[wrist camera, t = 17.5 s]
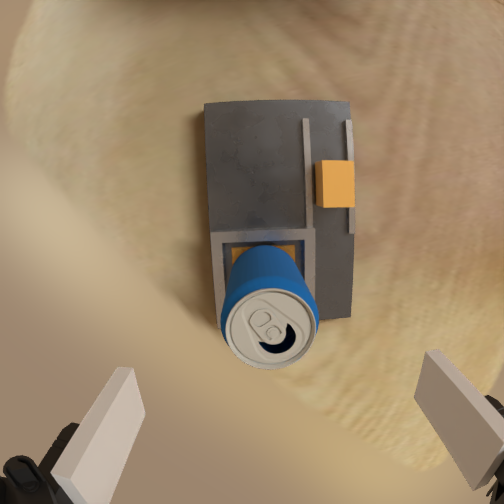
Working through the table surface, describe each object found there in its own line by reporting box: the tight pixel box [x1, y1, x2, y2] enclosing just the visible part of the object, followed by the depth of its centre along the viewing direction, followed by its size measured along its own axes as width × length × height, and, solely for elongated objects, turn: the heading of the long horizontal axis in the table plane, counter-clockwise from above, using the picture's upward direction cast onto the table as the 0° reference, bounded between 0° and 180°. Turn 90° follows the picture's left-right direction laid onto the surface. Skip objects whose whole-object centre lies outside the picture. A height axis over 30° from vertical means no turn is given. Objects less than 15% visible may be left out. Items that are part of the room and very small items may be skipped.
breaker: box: [315, 160, 355, 208], centre depth 27 cm, size 4×3×3 cm
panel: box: [204, 100, 355, 329], centre depth 30 cm, size 22×14×4 cm, turn 2°
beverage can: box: [220, 245, 319, 370], centre depth 25 cm, size 6×6×12 cm
